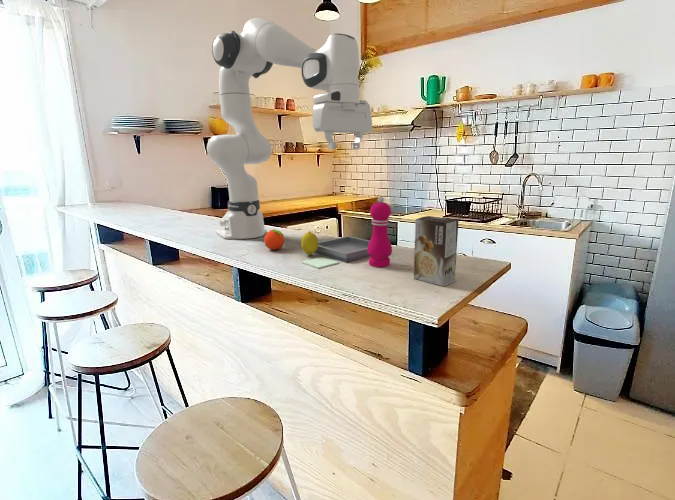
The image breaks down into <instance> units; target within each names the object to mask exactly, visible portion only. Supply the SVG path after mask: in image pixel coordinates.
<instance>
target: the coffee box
mask: <svg viewBox="0 0 675 500" xmlns="http://www.w3.org/2000/svg"><path fill="white" fill-rule="evenodd" d="M459 222H460V221H459V219H455V218H448V217H442V216H441V217H439V216H438V217H437V216H430V215H426V216H421V217H418V218H416V219H415V224H414V225H415V228H414V233H415V234H414V257H413V258H414V259H413V279H414V280H418V281H422V282H426V283H429V284H434V285H436V286H441V287H445V286H448V285H449V284H451V283H453V282H455V281H456V266H457V265H456V264H457V252H458V251H457V250H458V234H459Z"/></svg>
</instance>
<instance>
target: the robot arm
mask: <svg viewBox="0 0 675 500" xmlns="http://www.w3.org/2000/svg"><path fill="white" fill-rule="evenodd" d="M211 52H212V53H211V54H212V57H213V60H214V62H215V64H217V65H218V66H220V69H219V74H218V94H219V102H220V103H219V104H220V111H221V112H220V113H221V118H222V119H223V121H224V122H225V123H227V124H228V125H230V126H231V127H232V128H233V130H234V131H235V134H217V135H214V136H211V137H210V138H209V139H208V142H207V144H206V152H207V153H206V154H207V155H208V158H209V160H211V162H212V163H214V164H215V165H216V166H218V167H219V168H220V170H221V171H222V172H223V174H224V177H225V180H226V182H227V190H228V197H229V200H228V201H227V211H226V213H225V214H224V216H222V218H221V220H220V221H219V226H220V227H221V229H220V228H219V229H216V232H215V234H217V235H219V236H220V237H221V238H222V239H225V240H230V239H234V240H237V239H238V240H241V239H247V240H248V239H254V238H255V239H256V238H260V237H263V236H265V235H266V233H267V232H268V229H265V221H264V215H263V213H262V212H261V210H260V209H261V203H260V199H259V192H258V180H257V179H256V178H255V177H254V176H252V175H251V174H249V173H248V172H247V170H246V169H245V165H257V164H262V163H265V162H267V161H269V159H270V158H271V156H272V146H271V143H270V142H269V140H268V139H267V138H266V137H265V136H264V135H263V134H262V133H261V132H260V130H259V128H258V126H257V124H256V122H255V120H254V116H253V111H252V110H253V109H252V103H251V93H250V87H249V84H250V82H249V81H250V78H251V77H253V78H254V79H258V78H260V76H262V75H265V74H266V73H268V72H269V71H270V70H271V69H272V67H273V65H274V64H275V65H278V66H285V67H291V68H292V67H293V68H299V69H301V77H302V80H303V82H304V84H305V86H306V87H308V88H311V89H314V90H320V91H324V92H321V93H318V94H316V95H314V96H313V97H312V98H313V104H315V105H314V106H313V109H312V127H313V129H314V131H315V132H317V133H319V132H320V133H324V138H325V140H326V142H327V144H328V145H327V146H328V147H327V148H328V149H329V150H337V142H336V141H335V142H334V138H333V136H334V133H343V134H344V133H349V134H354V137H355V140H354V142H352V144H351V145H352V149H354V150H358V149H359V150H360V149H361V142H362V140H363V137H364V134H370V133H371V132H372V131H373V117H372V110H371V105H370V104H369V102H368V101H367V100H363V99H360V98H361V97H360V82H359V72H360V50H359V45H358V42H357V39H356V38H355V37H354V36H352V35H349V34H345V33H339V32H338V33H332V34H330V35H329V36H328V38H327V40H326V42H325V43H324V44H323V45H322V46H321V47H320V48H319V49H315V48H313V47H312V46H309V45H308V44H307V43H306V42H303V41H302V40H301V39H299V38H298V37H296V36H295V35H293V34H292V33H290V31H288V30H286V29H285V28H283V27H282V26H280V25H279V24H277V23H276V22H273V21H271V20H268V19H265V18H260V17H253V18H250V19H249V20H247V22H245V25H244V27H243V30H242V32H241V33H236V31H235V30H232V31H229V32H226V33H225V32H224V33H220V34H218V35H217V36H216V37H215V38H214V39H213V42H212V47H211Z"/></svg>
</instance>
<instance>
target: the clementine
mask: <svg viewBox="0 0 675 500" xmlns="http://www.w3.org/2000/svg"><path fill="white" fill-rule="evenodd" d="M285 241H286V239H285V236H284V234H283V232H282V231H280V230H278V229H271V230H269V231H267V233H265V234H264V240H263V242H264V244H265V246H266V247H267V248H268V249H269V250H272V251H277V250H279V249H281V248H282V247H283V246H284V244H285Z"/></svg>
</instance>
